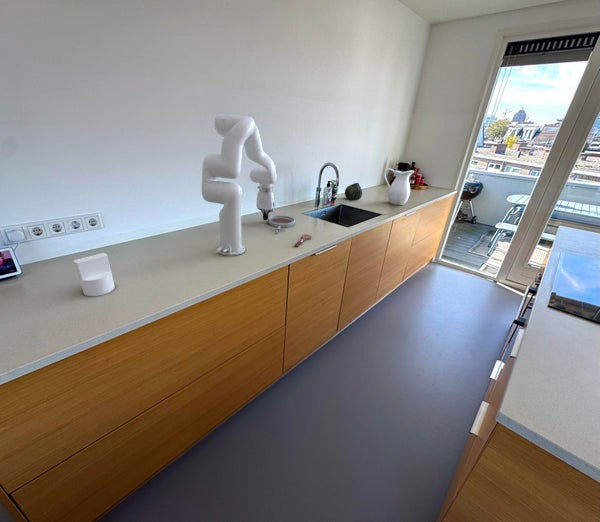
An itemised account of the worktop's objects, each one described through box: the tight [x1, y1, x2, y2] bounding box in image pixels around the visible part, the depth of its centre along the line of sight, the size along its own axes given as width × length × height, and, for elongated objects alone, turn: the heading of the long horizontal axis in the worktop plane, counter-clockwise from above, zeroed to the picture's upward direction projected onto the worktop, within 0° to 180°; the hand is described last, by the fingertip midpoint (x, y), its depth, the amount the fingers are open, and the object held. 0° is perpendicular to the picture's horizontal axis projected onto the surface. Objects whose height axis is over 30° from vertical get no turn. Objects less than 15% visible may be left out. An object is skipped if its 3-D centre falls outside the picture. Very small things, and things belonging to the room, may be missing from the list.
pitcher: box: [383, 168, 415, 206], centre depth 240 cm, size 24×17×28 cm
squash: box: [344, 182, 363, 201], centre depth 244 cm, size 14×15×15 cm
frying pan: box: [267, 214, 296, 235], centre depth 171 cm, size 17×3×28 cm
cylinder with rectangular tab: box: [73, 252, 116, 297], centre depth 97 cm, size 9×9×12 cm
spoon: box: [294, 233, 312, 248], centre depth 151 cm, size 18×5×2 cm, turn 158°
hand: (265, 219), depth 174 cm, fingers closed
